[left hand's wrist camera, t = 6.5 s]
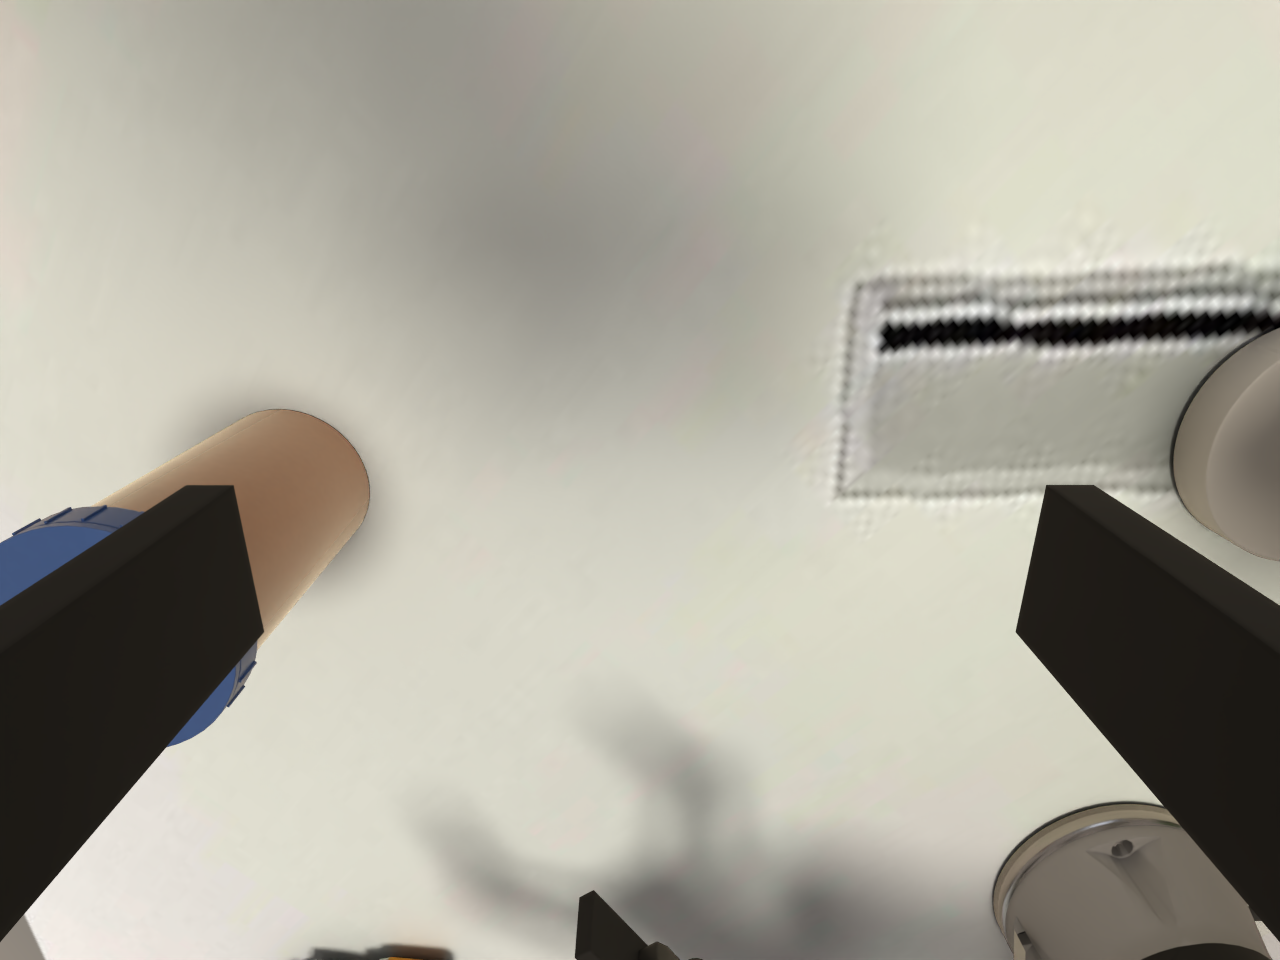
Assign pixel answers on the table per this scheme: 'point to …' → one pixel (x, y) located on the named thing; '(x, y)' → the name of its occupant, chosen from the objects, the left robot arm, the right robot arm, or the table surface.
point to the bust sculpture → (1236, 450)
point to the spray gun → (396, 959)
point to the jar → (272, 497)
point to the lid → (64, 538)
